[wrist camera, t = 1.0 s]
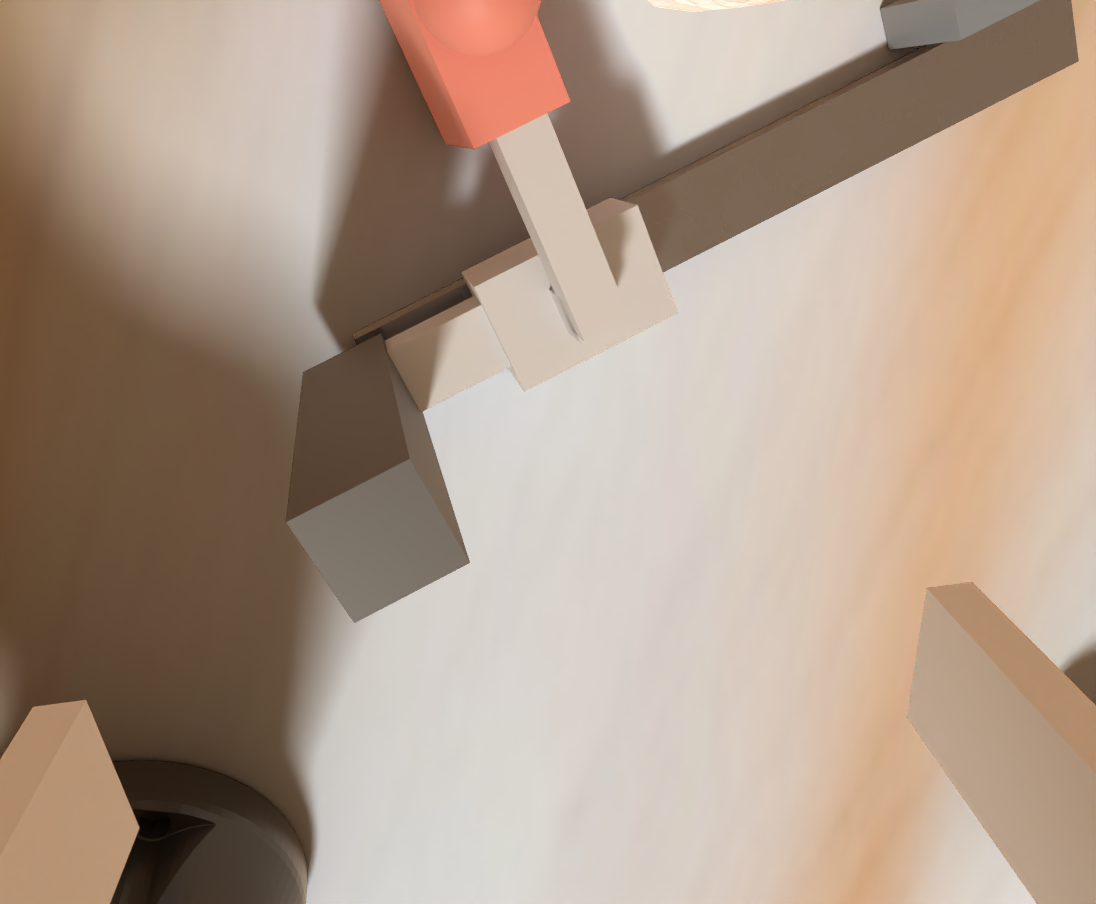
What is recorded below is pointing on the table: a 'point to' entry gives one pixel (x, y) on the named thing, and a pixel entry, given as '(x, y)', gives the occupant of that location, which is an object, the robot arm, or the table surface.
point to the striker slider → (464, 311)
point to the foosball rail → (826, 141)
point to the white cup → (707, 4)
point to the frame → (942, 19)
